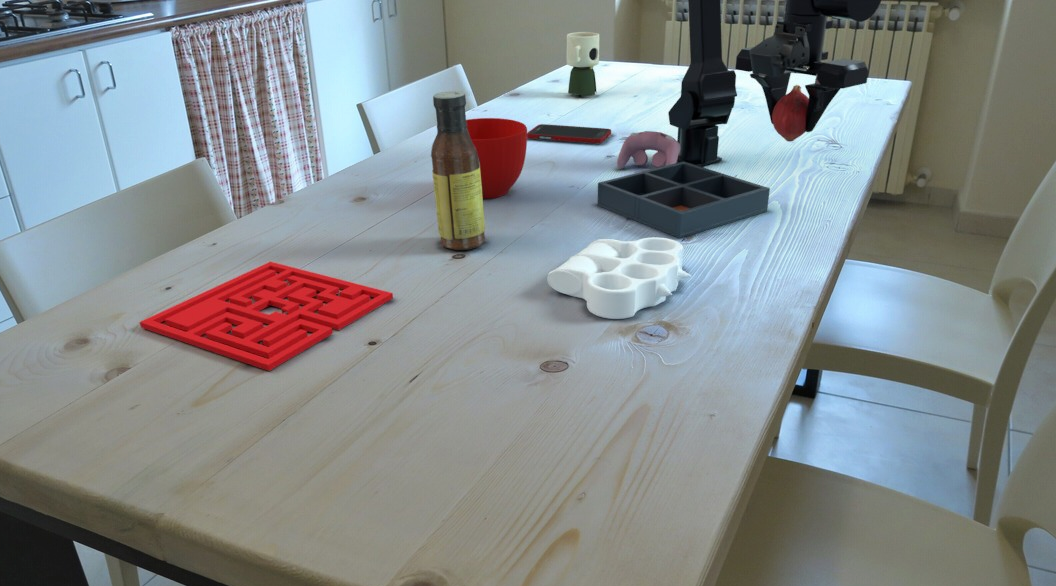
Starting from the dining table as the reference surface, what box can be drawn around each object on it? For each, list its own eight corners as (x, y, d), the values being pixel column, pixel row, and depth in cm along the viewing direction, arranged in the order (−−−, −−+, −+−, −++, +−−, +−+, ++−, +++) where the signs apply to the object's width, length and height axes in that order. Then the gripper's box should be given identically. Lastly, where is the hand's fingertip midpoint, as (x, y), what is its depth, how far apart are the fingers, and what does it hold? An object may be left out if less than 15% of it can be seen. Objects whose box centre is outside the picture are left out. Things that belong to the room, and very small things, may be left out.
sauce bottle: (492, 238, 121) (486, 89, 112) (475, 254, 116) (468, 100, 106) (448, 233, 123) (438, 87, 113) (429, 249, 118) (418, 98, 108)
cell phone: (601, 144, 161) (601, 139, 160) (525, 138, 165) (525, 133, 165) (612, 134, 167) (612, 128, 166) (539, 128, 172) (539, 123, 171)
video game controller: (677, 178, 147) (685, 136, 147) (671, 173, 143) (679, 130, 143) (621, 172, 151) (628, 131, 151) (613, 167, 147) (621, 125, 146)
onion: (812, 147, 126) (820, 90, 122) (770, 146, 127) (777, 89, 123) (808, 136, 131) (816, 81, 127) (768, 135, 132) (774, 80, 128)
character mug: (590, 102, 191) (592, 38, 185) (559, 100, 194) (559, 37, 187) (604, 91, 200) (605, 30, 194) (574, 89, 202) (574, 29, 196)
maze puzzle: (269, 370, 90) (268, 365, 89) (140, 327, 99) (139, 322, 99) (393, 298, 104) (392, 293, 104) (271, 266, 114) (270, 261, 113)
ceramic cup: (409, 200, 136) (404, 135, 131) (486, 174, 147) (483, 113, 142) (468, 218, 128) (465, 150, 123) (545, 189, 139) (544, 126, 134)
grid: (597, 205, 132) (597, 182, 130) (681, 182, 140) (683, 161, 139) (679, 238, 119) (681, 213, 118) (767, 211, 128) (770, 188, 126)
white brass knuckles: (602, 250, 116) (708, 271, 109) (533, 301, 103) (650, 329, 96) (603, 226, 114) (711, 246, 108) (533, 275, 101) (651, 301, 94)
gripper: (713, 12, 123) (704, 124, 131) (825, 26, 110) (808, 151, 117) (767, 4, 129) (755, 112, 136) (879, 17, 115) (860, 136, 123)
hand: (791, 127), depth 128 cm, fingers closed on onion, 6 cm apart
